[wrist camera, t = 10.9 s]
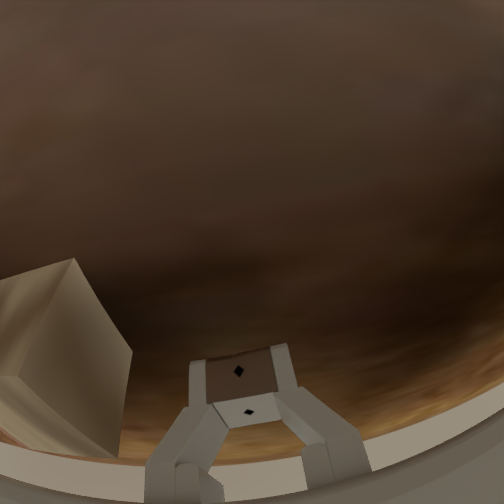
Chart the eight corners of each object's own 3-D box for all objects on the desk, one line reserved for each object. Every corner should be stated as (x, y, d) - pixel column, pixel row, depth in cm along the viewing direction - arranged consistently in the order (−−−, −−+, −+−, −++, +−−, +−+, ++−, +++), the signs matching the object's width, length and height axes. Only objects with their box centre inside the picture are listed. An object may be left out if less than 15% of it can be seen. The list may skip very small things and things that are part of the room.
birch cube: (17, 376, 6) (-62, 373, 6) (117, 458, 10) (24, 447, 10) (74, 257, 11) (-10, 282, 11) (132, 351, 15) (49, 360, 15)
